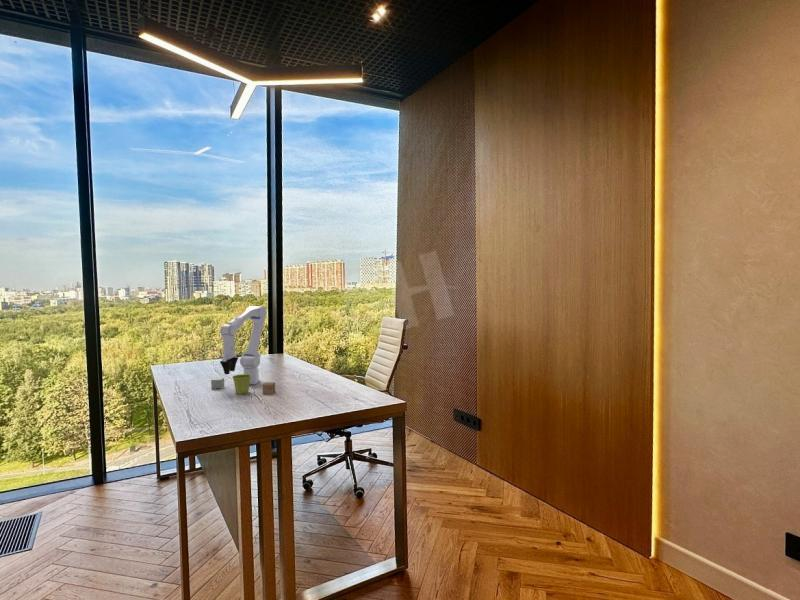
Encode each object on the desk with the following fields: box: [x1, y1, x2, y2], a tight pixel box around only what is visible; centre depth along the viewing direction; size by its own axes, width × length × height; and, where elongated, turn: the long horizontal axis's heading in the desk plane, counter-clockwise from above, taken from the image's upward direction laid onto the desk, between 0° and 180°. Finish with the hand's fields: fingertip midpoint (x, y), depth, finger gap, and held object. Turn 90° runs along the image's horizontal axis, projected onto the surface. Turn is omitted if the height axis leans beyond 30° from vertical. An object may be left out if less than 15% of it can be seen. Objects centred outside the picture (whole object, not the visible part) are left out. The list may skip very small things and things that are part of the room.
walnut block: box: [262, 381, 276, 394], centre depth 235 cm, size 5×5×5 cm
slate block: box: [210, 377, 225, 390], centre depth 246 cm, size 5×5×5 cm
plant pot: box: [232, 373, 251, 395], centre depth 235 cm, size 9×9×9 cm
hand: (229, 372), depth 241 cm, fingers open, 7 cm apart
